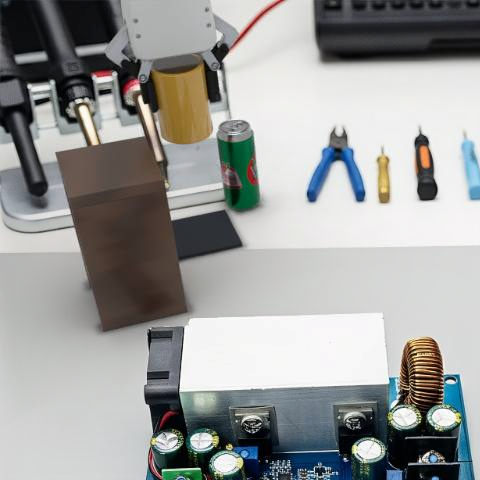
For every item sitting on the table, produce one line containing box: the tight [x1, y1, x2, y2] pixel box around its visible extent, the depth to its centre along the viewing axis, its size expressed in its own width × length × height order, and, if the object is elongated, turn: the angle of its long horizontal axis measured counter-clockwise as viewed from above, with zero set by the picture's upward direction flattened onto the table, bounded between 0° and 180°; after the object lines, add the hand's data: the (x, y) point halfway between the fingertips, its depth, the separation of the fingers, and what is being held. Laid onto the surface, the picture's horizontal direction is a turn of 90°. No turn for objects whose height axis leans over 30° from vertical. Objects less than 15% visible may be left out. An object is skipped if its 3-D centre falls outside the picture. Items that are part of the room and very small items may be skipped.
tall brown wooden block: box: [54, 135, 188, 332], centre depth 120 cm, size 10×10×19 cm
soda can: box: [215, 118, 261, 211], centre depth 138 cm, size 5×5×12 cm
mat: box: [171, 209, 243, 261], centre depth 136 cm, size 9×9×1 cm
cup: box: [149, 53, 214, 145], centre depth 122 cm, size 7×7×9 cm
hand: (182, 101), depth 123 cm, fingers closed on cup, 6 cm apart
